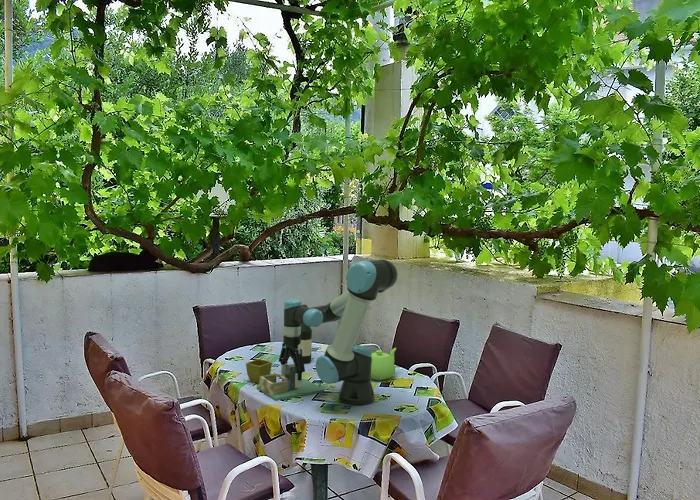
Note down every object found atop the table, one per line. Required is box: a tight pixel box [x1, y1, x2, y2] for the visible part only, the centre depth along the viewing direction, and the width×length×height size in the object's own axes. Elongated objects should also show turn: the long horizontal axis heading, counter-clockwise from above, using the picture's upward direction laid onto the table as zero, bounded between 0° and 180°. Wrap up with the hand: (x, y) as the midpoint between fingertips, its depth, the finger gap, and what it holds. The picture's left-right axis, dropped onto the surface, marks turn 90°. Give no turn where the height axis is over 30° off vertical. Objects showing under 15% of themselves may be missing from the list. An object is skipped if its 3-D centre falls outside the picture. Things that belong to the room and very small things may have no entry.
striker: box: [281, 363, 297, 390], centre depth 260 cm, size 5×5×10 cm
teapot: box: [371, 347, 397, 381], centre depth 285 cm, size 22×15×13 cm
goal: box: [258, 371, 288, 395], centre depth 258 cm, size 12×8×6 cm, turn 34°
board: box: [256, 378, 325, 402], centre depth 262 cm, size 18×24×1 cm
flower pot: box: [245, 358, 273, 384], centre depth 273 cm, size 9×9×9 cm
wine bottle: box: [298, 304, 313, 365], centre depth 306 cm, size 8×8×30 cm
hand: (291, 382), depth 261 cm, fingers open, 13 cm apart
